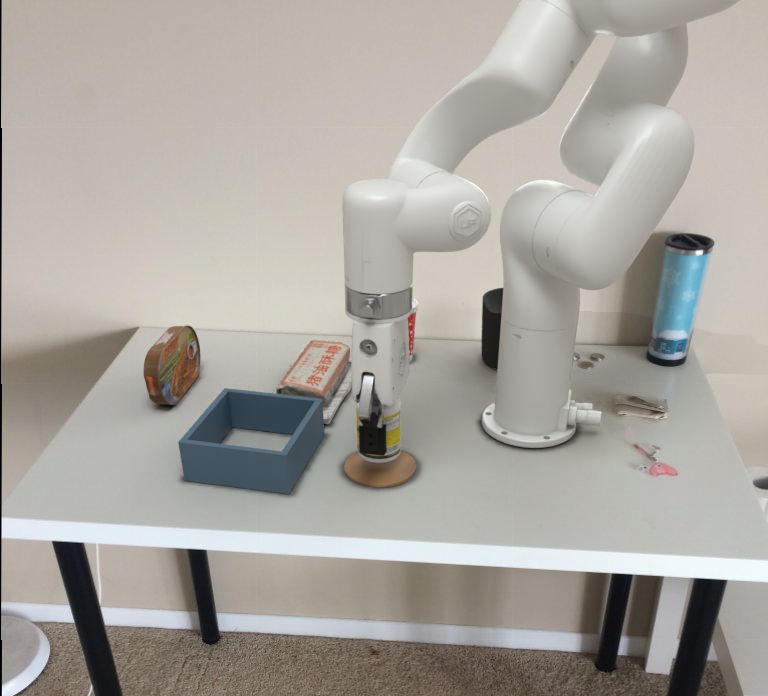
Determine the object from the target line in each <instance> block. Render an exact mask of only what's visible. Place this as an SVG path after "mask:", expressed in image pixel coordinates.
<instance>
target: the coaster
mask: <svg viewBox="0 0 768 696" xmlns="http://www.w3.org/2000/svg"><path fill="white" fill-rule="evenodd" d="M343 468H344V474H345V476H346V477H347V478H348V479H349V480H351V481H352V482H354V483H355V484H358V485H360V486H364V487H368V488H379V489H380V488H390V487H396V486H398V485H399V486H400V485H402V484H404V483H406V482H407V481H409V480H411V479H412V478H413V477H414V475H415V474H416V471H417V463H416V460H415V459H414V458H413V456H411V455H410V454H409V453H407V452H406V451H403V450H401V452H400V455H399V456H398V457H397V458H396V459H394V460H392V461H389V462H384V463H375V462H369V461H366V460H364V459H363V458H361V456H360V455H359V453H358V451H355V452H353V453H352V454H350V456H348V457H347V458H346V460H345V462H344V467H343Z"/></svg>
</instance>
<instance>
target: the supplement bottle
mask: <svg viewBox="0 0 768 696" xmlns="http://www.w3.org/2000/svg"><path fill="white" fill-rule="evenodd" d="M373 399H375V400H379V398H378V396H377V395H373ZM355 403H356V402H355ZM355 405H356V406H355V411H356V435H357V436H356V442H357V445H356V446H357V452H358V453H359V455H360V456H361V458H363V459H364V460H366V461H369V462H375V463H384V462H389V461H392V460H394V459H396V458H397V457H398V456H399V455H400V452H401V451H402V402H401V398H400V396H399V397H398V399H397V401H396V402H395V403H394V404H393V405H392V406H390V407H388V406H387V405H385V412H384V424H386V453H385V455H383V456H381V455H373V454H365V453H361V452H360V450H359V417H358V408H359V403H356V404H355ZM378 407H379V406H372V412H376V414H377V416H378Z"/></svg>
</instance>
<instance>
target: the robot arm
mask: <svg viewBox="0 0 768 696" xmlns="http://www.w3.org/2000/svg"><path fill="white" fill-rule="evenodd" d="M739 1H740V0H520V1H519V2H518V4H517V5H516V7H515V8H514V11H513V12H512V14H511V15H510V17H509V19H508V20H507V22H506V23H505V26H504V27H503V28H502V30H501V32H500V33H499V36H498V37H497V39H496V41H495V42H494V44H493V45H492V47H491V49H490V51H489V52H488V54H487V55H486V57H485V58H484V59H483V61H482V62H481V64H480V65H479V66H478V67H477V68H476V69H474V71H472V72H471V73H469V74H468V75H467V76H465V77H464V78H463V79H462V80H461V81H459V82H458V83H457V84H456V85H455V86H453V88H452V89H450V90H449V91H448V92H447V93H446V94H445V95H443V96H442V97H441V98H440V99H439V100H437V102H435V103H434V104H433V105H432V106H431V107H430V108H429V109H428V110H427V111H426V112H425V113H424V114H423V115H422V117H421V118H420V119H419V120H418V122H417V123H416V124H415V126H414V127H413V128H412V130H411V131H410V133H409V135H408V137H407V138H406V140H405V142H404V143H403V145H402V147H401V149H399V152H398V153H397V154H396V157H395V159H394V160H393V163H392V164H391V166H390V168H389V170H388V172H387V175H386V177H385V178H367V179H362V180H358V181H355V182H352V183H351V184H349V185H348V186H347V187H346V188H345V190H344V192H343V195H342V229H343V230H342V235H343V236H342V237H343V238H342V239H343V269H344V270H343V271H344V272H343V273H344V313H345V315H346V316H347V317H348V318H349V319H351V320H352V331H351V357H350V358H351V359H350V362H351V381H352V387H351V395H352V399H353V401H354V402H355V403H359V408H358V417H359V450H360V452H361V453H365V454H373V455H381V456H383V455H385V453H386V424H384V412H385V405H387V406H388V407H390V406H392V405H393V404H394V403H395V402H396V401H397V399H398V397H399V398H400V395H401V393H402V391H403V389H404V387H405V386H406V383H407V381H408V378H409V376H410V362H409V331H408V317H409V316H410V315H411V314H412V298H413V291H414V290H413V287H414V285H413V284H414V282H413V281H414V254H415V253H455V252H461V251H464V250H467V249H469V248H471V247H472V246H475V245H476V244H478V242H480V241H481V240H482V238H483V237H484V236H485V235H486V233H487V232H488V229H489V227H490V224H491V221H492V208H491V204H490V201H489V198H488V197H487V195H486V194H485V192H484V191H483V190H482V189H481V188H480V187H479V186H478V185H476V184H475V183H474V182H472V181H470V180H468V179H466V178H463V177H461V176H459V175H456V174H454V173H455V171H456V170H457V168H459V166H460V164H461V163H462V161H464V159H465V158H466V157H467V156H468V154H470V153H471V152H472V151H473V149H474V148H476V147H477V146H478V145H479V144H481V143H482V142H484V141H486V140H487V139H488V138H490V137H492V136H494V135H497V134H498V133H501V132H503V131H506V130H508V129H509V130H510V129H512V128H515V127H518V126H522V125H523V124H526V123H528V122H530V121H534V120H536V119H538V118H540V117H543V116H544V115H545V114H547V112H549V110H550V109H551V108H552V107H553V105H554V104H555V102H556V100H557V99H558V96H559V95H560V93H562V90H563V89H564V87H565V86H566V84H567V82H568V80H569V79H570V78H571V76H572V75H573V73H574V71H575V70H576V68H577V67H578V65H579V63H580V62H581V60H582V59H583V57H584V56H585V54H586V53H587V51H588V49H589V48H590V47H591V45H592V43H593V42H594V40H595V39H596V37H597V36H598V35H599V34H601V35H608V36H614V37H615V40H614V43H613V44H612V46H611V49H610V50H609V51H610V52H609V53H608V55H607V57H606V58H605V61H604V62H603V64H602V66H601V68H600V69H599V71H598V73H597V74H596V76H595V78H593V81H592V82H591V84H590V86H589V87H588V89H587V90H586V92H585V94H584V96H583V97H582V99H581V100H580V103H579V104H578V106H577V108H576V109H575V111H574V113H573V114H572V115H571V118H570V119H569V121H568V123H567V125H566V126H565V128H564V130H563V133H562V135H561V138H560V141H559V146H558V147H559V148H558V155H559V159H560V162H561V165H562V166H563V167H564V168H565V170H566V171H567V172H568V173H569V174H571V175H573V176H574V177H576V178H577V179H579V180H581V181H584V182H586V183H589V184H590V185H591V184H592V185H594V186H597V187H599V188H598V189H597V191H596V193H595V195H594V194H591V193H588V192H586V191H584V190H581V189H579V188H576V187H573V186H570V185H569V184H566V183H563V182H559V181H555V180H547V179H538V180H533V181H530V182H529V181H528V182H527V183H525V184H523V185H521V186H520V187H518V188H517V189H516V190H514V192H513V193H512V194H511V195H510V196H509V198H508V199H507V201H506V203H505V205H504V207H503V210H502V213H501V216H500V223H499V242H500V251H501V261H502V270H503V271H502V272H503V273H502V274H503V275H502V276H503V282H502V283H503V284H502V286H503V287H502V288H503V303H502V316H501V329H500V343H499V356H498V369H497V372H496V382H495V383H496V384H495V395H494V397H495V398H494V402H492V403H490V404H489V405H488V406H487V407H486V408H485V409H484V411H483V412H482V416H481V426H482V428H483V430H484V431H485V432H486V433H487V434H488V435H489V436H491V437H492V438H493V439H495V440H496V441H498V442H501V443H503V444H506V445H510V446H513V447H519V448H527V449H528V448H529V449H543V448H550V447H554V446H558V445H561V444H563V443H565V442H567V441H568V440H571V438H572V437H573V436H574V435H575V433H576V431H577V424H584V425H586V426H597V427H600V426H601V420H602V410H593V406H594V403H591V402H590V403H589V402H576V400H575V399H571V398H572V392H573V391H572V389H570V388H571V387H570V386H571V380H572V379H571V378H572V371H573V362H574V357H575V348H576V347H575V346H576V341H577V340H576V339H577V333H578V326H579V325H578V323H579V317H580V310H581V289H582V290H586V291H599V290H603V289H605V288H608V287H609V286H611V285H613V284H615V282H617V281H618V280H619V279H620V278H622V276H623V275H624V274H625V273H626V272H627V271H628V269H629V268H630V267H631V265H632V264H633V263H634V261H635V260H636V259H637V257H638V255H639V254H640V252H642V249H643V248H644V247H645V245H646V243H647V242H648V240H649V239H650V237H651V236H652V235H653V232H654V231H655V230H656V228H657V226H658V225H659V224H660V222H661V221H662V219H663V217H664V216H665V215H666V213H667V212H668V210H669V207H670V206H672V203H673V202H674V200H675V199H676V197H677V196H678V194H679V192H680V191H681V189H682V187H683V185H684V183H685V181H686V179H687V178H688V175H689V172H690V170H691V166H692V164H693V159H694V154H695V136H694V132H693V129H692V126H691V124H690V123H689V121H688V119H687V117H685V116H684V115H683V114H681V113H680V112H679V111H676V110H675V109H673V108H670V107H667V105H668V103H669V101H670V100H671V98H672V96H673V95H674V93H675V91H676V90H677V88H678V85H679V84H680V82H681V80H682V78H683V75H684V73H685V70H686V67H687V63H688V56H689V36H688V35H689V33H688V25H687V24H688V23H693V22H695V21H698V20H700V19H704V18H706V17H709V16H713V15H717V14H719V13H721V12H724V11H726V10H728V9H730V8H731V7H733V6H735V5H736V4H737V3H738V2H739ZM373 395H377V396H378V398H379V400H375V399H373ZM372 406H379V407H378V416H377V414H376V412H372Z"/></svg>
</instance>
